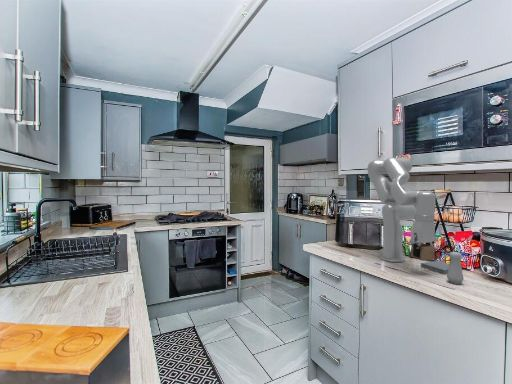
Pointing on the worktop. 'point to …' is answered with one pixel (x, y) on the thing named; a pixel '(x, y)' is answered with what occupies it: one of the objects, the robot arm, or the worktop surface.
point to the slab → (436, 266)
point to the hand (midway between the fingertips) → (422, 255)
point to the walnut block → (424, 252)
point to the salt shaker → (455, 268)
